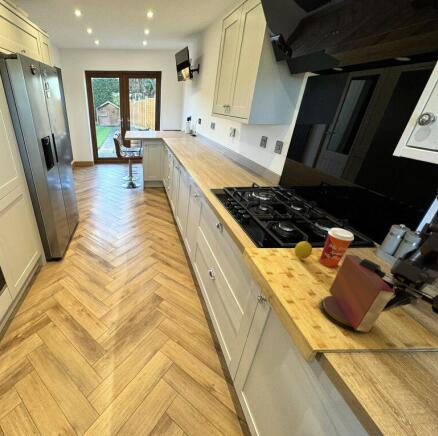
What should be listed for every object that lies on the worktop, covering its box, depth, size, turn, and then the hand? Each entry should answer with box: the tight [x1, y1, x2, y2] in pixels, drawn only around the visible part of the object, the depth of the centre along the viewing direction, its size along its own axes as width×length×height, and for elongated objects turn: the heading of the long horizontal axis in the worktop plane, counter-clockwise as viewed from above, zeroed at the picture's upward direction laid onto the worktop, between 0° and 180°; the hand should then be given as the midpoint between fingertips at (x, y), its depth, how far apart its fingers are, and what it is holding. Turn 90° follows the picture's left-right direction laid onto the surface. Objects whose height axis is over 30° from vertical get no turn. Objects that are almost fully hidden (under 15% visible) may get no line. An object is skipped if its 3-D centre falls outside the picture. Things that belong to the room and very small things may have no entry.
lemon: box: [294, 240, 313, 260], centre depth 92 cm, size 6×6×8 cm
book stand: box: [322, 254, 395, 333], centre depth 65 cm, size 11×15×15 cm
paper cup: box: [319, 227, 355, 269], centre depth 89 cm, size 8×8×14 cm
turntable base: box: [319, 299, 364, 333], centre depth 69 cm, size 12×12×1 cm
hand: (378, 311), depth 59 cm, fingers closed
